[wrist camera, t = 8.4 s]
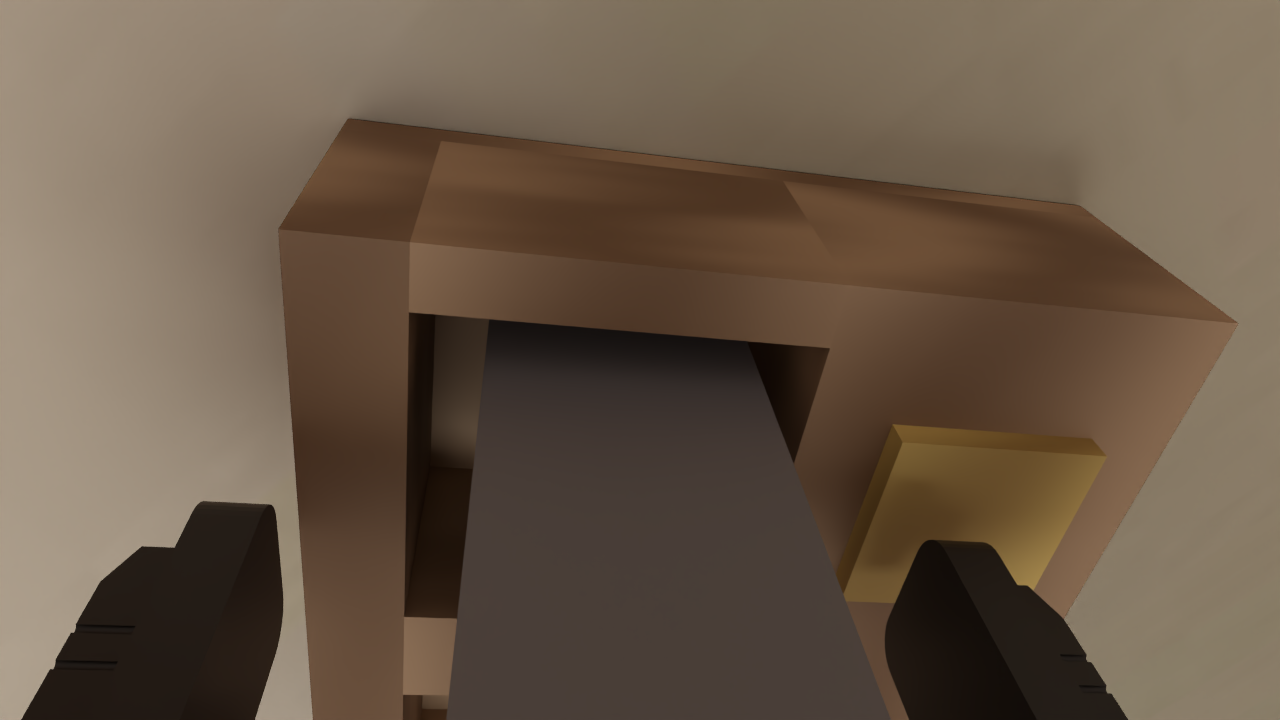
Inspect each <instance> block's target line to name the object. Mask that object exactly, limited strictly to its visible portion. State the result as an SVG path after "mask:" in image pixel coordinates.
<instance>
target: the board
mask: <svg viewBox="0 0 1280 720" xmlns="http://www.w3.org/2000/svg"><path fill="white" fill-rule="evenodd" d="M278 232H279V247H280V261H281V275H282V289H283V303H284V317H285V331H286V345H287V359H288V374H289V388H290V402H291V416H292V430H293V444H294V458H295V472H296V486H297V501H298V515H299V529H300V543H301V557H302V571H303V585H304V599H305V614H306V628H307V642H308V656H309V670H310V684H311V698H312V712H313V720H446V718H447V708H448V699H449V690H450V680H451V671H452V662H453V652H454V643H455V634H456V624H457V615H458V606H459V596H460V587H461V578H462V568H463V559H464V550H465V540H466V531H467V522H468V512H469V503H470V494H471V484H472V475H473V466H474V456H475V447H476V438H477V428H478V419H479V410H480V400H481V391H482V382H483V372H484V363H485V353H486V344H487V335H488V325H489V319H493V320H505V321H517V322H528V323H540V324H552V325H564V326H575V327H587V328H599V329H610V330H622V331H634V332H645V333H657V334H669V335H680V336H692V337H704V338H715V339H727V340H739V341H747V343H748V345H749V348H750V351H751V353H752V356H753V358H754V361H755V364H756V366H757V369H758V372H759V374H760V377H761V379H762V382H763V385H764V387H765V390H766V393H767V395H768V398H769V400H770V403H771V406H772V408H773V411H774V414H775V416H776V419H777V422H778V424H779V427H780V429H781V432H782V435H783V437H784V440H785V443H786V445H787V448H788V450H789V453H790V456H791V458H792V461H793V464H794V466H795V469H796V471H797V474H798V477H799V479H800V482H801V485H802V487H803V490H804V492H805V495H806V498H807V500H808V503H809V506H810V508H811V511H812V513H813V516H814V519H815V521H816V524H817V527H818V529H819V532H820V535H821V537H822V540H823V542H824V545H825V548H826V550H827V553H828V556H829V558H830V561H831V563H832V566H833V569H834V571H835V574H836V577H837V579H838V582H839V584H840V587H841V590H842V592H843V595H844V598H845V600H846V603H847V605H848V608H849V611H850V613H851V616H852V619H853V621H854V624H855V626H856V629H857V632H858V634H859V637H860V640H861V642H862V645H863V648H864V650H865V653H866V655H867V658H868V661H869V663H870V666H871V669H872V671H873V674H874V676H875V679H876V682H877V684H878V687H879V690H880V692H881V695H882V697H883V700H884V703H885V705H886V708H887V711H888V713H889V716H890V718H891V720H909V718H908V716H907V713H906V711H905V708H904V706H903V703H902V701H901V698H900V696H899V693H898V691H897V688H896V686H895V683H894V681H893V678H892V676H891V673H890V671H889V668H888V664H887V660H886V654H885V629H886V624H887V621H888V618H889V615H890V613H891V611H892V609H893V606H894V604H895V602H896V599H897V597H898V595H899V593H900V590H901V588H902V586H903V583H904V581H905V579H906V577H907V574H908V572H909V570H910V568H911V565H912V563H913V561H914V558H915V556H916V554H917V552H918V550H919V548H920V546H921V545H922V544H923V543H924V542H925V541H927V540H950V541H970V542H985V543H988V544H989V545H991V546H992V547H993V548H994V549H995V550H996V551H997V553H998V554H999V556H1000V557H1001V559H1002V561H1003V562H1004V564H1005V566H1006V567H1007V569H1008V570H1009V572H1010V574H1011V575H1012V577H1013V579H1014V580H1015V582H1016V584H1017V585H1028V586H1029V587H1030V588H1031V589H1032V590H1033V591H1034V592H1035V593H1036V594H1037V595H1039V596H1040V597H1041V598H1042V599H1043V600H1044V601H1045V602H1046V603H1047V604H1048V605H1049V606H1050V607H1052V608H1053V609H1054V610H1055V611H1056V612H1057V613H1058V614H1059V615H1060V616H1061V617H1062V618H1063V619H1064V618H1065V616H1066V614H1067V612H1068V611H1069V609H1070V607H1071V606H1072V604H1073V602H1074V601H1075V599H1076V597H1077V596H1078V594H1079V592H1080V591H1081V589H1082V587H1083V585H1084V584H1085V582H1086V580H1087V579H1088V577H1089V575H1090V574H1091V572H1092V570H1093V569H1094V567H1095V565H1096V564H1097V562H1098V560H1099V558H1100V557H1101V555H1102V553H1103V552H1104V550H1105V548H1106V547H1107V545H1108V543H1109V542H1110V540H1111V538H1112V537H1113V535H1114V533H1115V531H1116V530H1117V528H1118V526H1119V525H1120V523H1121V521H1122V520H1123V518H1124V516H1125V515H1126V513H1127V511H1128V510H1129V508H1130V506H1131V504H1132V503H1133V501H1134V499H1135V498H1136V496H1137V494H1138V493H1139V491H1140V489H1141V488H1142V486H1143V484H1144V483H1145V481H1146V479H1147V477H1148V476H1149V474H1150V472H1151V471H1152V469H1153V467H1154V466H1155V464H1156V462H1157V461H1158V459H1159V457H1160V455H1161V454H1162V452H1163V450H1164V449H1165V447H1166V445H1167V444H1168V442H1169V440H1170V439H1171V437H1172V435H1173V434H1174V432H1175V430H1176V428H1177V427H1178V425H1179V423H1180V422H1181V420H1182V418H1183V417H1184V415H1185V413H1186V412H1187V410H1188V408H1189V407H1190V405H1191V403H1192V401H1193V400H1194V398H1195V396H1196V395H1197V393H1198V391H1199V390H1200V388H1201V386H1202V385H1203V383H1204V381H1205V380H1206V378H1207V376H1208V374H1209V373H1210V371H1211V369H1212V368H1213V366H1214V364H1215V363H1216V361H1217V359H1218V358H1219V356H1220V354H1221V353H1222V351H1223V349H1224V347H1225V346H1226V344H1227V342H1228V341H1229V339H1230V337H1231V336H1232V334H1233V332H1234V331H1235V329H1236V327H1237V326H1238V323H1237V322H1236V321H1234V320H1233V319H1232V318H1230V317H1229V316H1228V315H1226V314H1225V313H1224V312H1222V311H1221V310H1220V309H1218V308H1217V307H1216V306H1214V305H1213V304H1211V303H1210V302H1209V301H1207V300H1206V299H1205V298H1203V297H1202V296H1201V295H1199V294H1198V293H1197V292H1195V291H1194V290H1193V289H1191V288H1190V287H1189V286H1187V285H1186V284H1185V283H1183V282H1182V281H1181V280H1179V279H1178V278H1176V277H1175V276H1174V275H1172V274H1171V273H1170V272H1168V271H1167V270H1166V269H1164V268H1163V267H1162V266H1160V265H1159V264H1158V263H1156V262H1155V261H1154V260H1152V259H1151V258H1150V257H1148V256H1147V255H1146V254H1144V253H1143V252H1141V251H1140V250H1139V249H1137V248H1136V247H1135V246H1133V245H1132V244H1131V243H1129V242H1128V241H1127V240H1125V239H1124V238H1123V237H1121V236H1120V235H1119V234H1117V233H1116V232H1115V231H1113V230H1112V229H1111V228H1109V227H1108V226H1106V225H1105V224H1104V223H1102V222H1101V221H1100V220H1098V219H1097V218H1096V217H1094V216H1093V215H1092V214H1090V213H1089V212H1088V211H1086V210H1085V209H1084V208H1082V207H1081V206H1076V205H1068V204H1059V203H1051V202H1042V201H1034V200H1026V199H1017V198H1009V197H1000V196H992V195H984V194H975V193H967V192H958V191H950V190H942V189H933V188H925V187H916V186H908V185H900V184H891V183H883V182H874V181H866V180H858V179H849V178H841V177H832V176H824V175H816V174H807V173H799V172H791V171H782V170H774V169H765V168H757V167H749V166H740V165H732V164H723V163H715V162H707V161H698V160H690V159H681V158H673V157H665V156H656V155H648V154H639V153H631V152H623V151H614V150H606V149H597V148H589V147H581V146H572V145H564V144H555V143H547V142H539V141H530V140H522V139H513V138H505V137H497V136H488V135H480V134H471V133H463V132H455V131H446V130H438V129H429V128H421V127H413V126H404V125H396V124H387V123H379V122H371V121H362V120H354V119H347V121H346V123H345V124H344V126H343V127H342V129H341V131H340V132H339V134H338V135H337V137H336V138H335V140H334V142H333V143H332V145H331V146H330V148H329V150H328V151H327V153H326V154H325V156H324V158H323V159H322V161H321V162H320V164H319V165H318V167H317V169H316V170H315V172H314V173H313V175H312V177H311V178H310V180H309V181H308V183H307V185H306V186H305V188H304V189H303V191H302V192H301V194H300V196H299V197H298V199H297V200H296V202H295V204H294V205H293V207H292V208H291V210H290V211H289V213H288V215H287V216H286V218H285V219H284V221H283V223H282V224H281V226H280V227H279V229H278Z"/></svg>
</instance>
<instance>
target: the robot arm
mask: <svg viewBox="0 0 1280 720" xmlns="http://www.w3.org/2000/svg"><path fill="white" fill-rule="evenodd" d="M282 617H283V588H282V577H281V566H280V555H279V544H278V532H277V521H276V513H275V510H274V507H273V506H272V505H268V504H248V503H228V502H208V501H203V502H200V503H199V504H198V505H197V506H196V507H195V509H194V511H193V512H192V514H191V516H190V518H189V520H188V522H187V524H186V526H185V528H184V530H183V532H182V534H181V536H180V538H179V540H178V542H177V544H176V546H175V548H167V547H143V546H142V547H141V548H139V549H138V550H137V551H136V552H135V553H134V554H132V555H131V556H130V557H129V558H128V559H126V560H125V561H124V562H123V563H122V564H121V565H119V566H118V567H117V568H116V569H115V570H114V571H112V572H111V573H110V574H109V575H108V576H106V577H105V578H104V579H103V580H102V581H101V582H100V583H99V585H98V587H97V588H96V590H95V592H94V594H93V595H92V597H91V599H90V601H89V602H88V604H87V606H86V608H85V609H84V611H83V613H82V615H81V616H80V618H79V620H78V622H77V623H76V630H75V632H74V633H71V634H70V636H69V637H68V639H67V641H66V643H65V644H64V646H63V648H62V650H61V651H60V653H59V655H58V656H57V658H56V664H55V667H54V669H50V670H49V672H48V674H47V676H46V677H45V679H44V681H43V683H42V684H41V686H40V688H39V690H38V691H37V693H36V695H35V697H34V698H33V700H32V702H31V704H30V705H29V707H28V709H27V711H26V712H25V714H24V716H23V718H22V719H21V720H255V717H256V714H257V711H258V708H259V705H260V701H261V698H262V695H263V692H264V689H265V686H266V682H267V679H268V676H269V673H270V670H271V667H272V664H273V660H274V657H275V654H276V650H277V647H278V642H279V637H280V632H281V625H282ZM885 654H886V660H887V664H888V668H889V671H890V673H891V676H892V678H893V681H894V683H895V686H896V688H897V691H898V693H899V696H900V698H901V701H902V703H903V706H904V708H905V711H906V713H907V716H908V718H909V720H1128V719H1127V717H1126V716H1125V714H1124V713H1123V711H1122V709H1121V708H1120V706H1119V705H1118V703H1117V702H1116V700H1115V699H1114V697H1113V695H1112V694H1108V693H1107V692H1106V684H1105V683H1104V681H1103V680H1102V678H1101V677H1100V675H1099V674H1098V672H1097V670H1096V669H1095V667H1094V666H1093V664H1092V663H1091V662H1087V660H1086V653H1085V652H1084V650H1083V649H1082V647H1081V645H1080V644H1079V642H1078V641H1077V639H1076V638H1075V636H1074V635H1073V633H1072V631H1071V630H1070V628H1069V627H1068V625H1067V624H1066V622H1065V620H1064V619H1063V618H1062V617H1061V616H1060V615H1059V614H1058V613H1057V612H1056V611H1055V610H1054V609H1053V608H1052V607H1050V606H1049V605H1048V604H1047V603H1046V602H1045V601H1044V600H1043V599H1042V598H1041V597H1040V596H1039V595H1037V594H1036V593H1035V592H1034V591H1033V590H1032V589H1031V588H1030V587H1029V586H1028V585H1017V584H1016V582H1015V580H1014V579H1013V577H1012V575H1011V574H1010V572H1009V570H1008V569H1007V567H1006V566H1005V564H1004V562H1003V561H1002V559H1001V557H1000V556H999V554H998V553H997V551H996V550H995V549H994V548H993V547H992V546H991V545H989V544H988V543H985V542H970V541H950V540H927V541H925V542H924V543H923V544H922V545H921V546H920V548H919V550H918V552H917V554H916V556H915V558H914V561H913V563H912V565H911V568H910V570H909V572H908V574H907V577H906V579H905V581H904V583H903V586H902V588H901V590H900V593H899V595H898V597H897V599H896V602H895V604H894V606H893V609H892V611H891V613H890V615H889V618H888V621H887V624H886V629H885Z"/></svg>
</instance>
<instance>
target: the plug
mask: <svg viewBox="0 0 1280 720" xmlns="http://www.w3.org/2000/svg"><path fill="white" fill-rule="evenodd" d="M446 720H891V718H890V716H889V713H888V711H887V708H886V705H885V703H884V700H883V697H882V695H881V692H880V690H879V687H878V684H877V682H876V679H875V676H874V674H873V671H872V669H871V666H870V663H869V661H868V658H867V655H866V653H865V650H864V648H863V645H862V642H861V640H860V637H859V634H858V632H857V629H856V626H855V624H854V621H853V619H852V616H851V613H850V611H849V608H848V605H847V603H846V600H845V598H844V595H843V592H842V590H841V587H840V584H839V582H838V579H837V577H836V574H835V571H834V569H833V566H832V563H831V561H830V558H829V556H828V553H827V550H826V548H825V545H824V542H823V540H822V537H821V535H820V532H819V529H818V527H817V524H816V521H815V519H814V516H813V513H812V511H811V508H810V506H809V503H808V500H807V498H806V495H805V492H804V490H803V487H802V485H801V482H800V479H799V477H798V474H797V471H796V469H795V466H794V464H793V461H792V458H791V456H790V453H789V450H788V448H787V445H786V443H785V440H784V437H783V435H782V432H781V429H780V427H779V424H778V422H777V419H776V416H775V414H774V411H773V408H772V406H771V403H770V400H769V398H768V395H767V393H766V390H765V387H764V385H763V382H762V379H761V377H760V374H759V372H758V369H757V366H756V364H755V361H754V358H753V356H752V353H751V351H750V348H749V345H748V343H747V341H739V340H727V339H715V338H704V337H692V336H680V335H669V334H657V333H645V332H634V331H622V330H610V329H599V328H587V327H575V326H564V325H552V324H540V323H528V322H517V321H505V320H493V319H489V325H488V335H487V344H486V353H485V363H484V372H483V382H482V391H481V400H480V410H479V419H478V428H477V438H476V447H475V456H474V466H473V475H472V484H471V494H470V503H469V512H468V522H467V531H466V540H465V550H464V559H463V568H462V578H461V587H460V596H459V606H458V615H457V624H456V634H455V643H454V652H453V662H452V671H451V680H450V690H449V699H448V708H447V718H446Z"/></svg>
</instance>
